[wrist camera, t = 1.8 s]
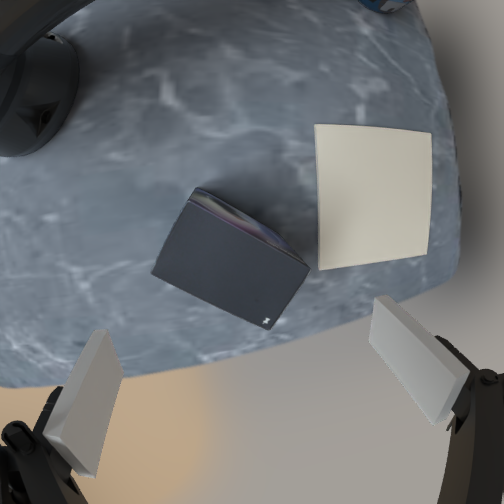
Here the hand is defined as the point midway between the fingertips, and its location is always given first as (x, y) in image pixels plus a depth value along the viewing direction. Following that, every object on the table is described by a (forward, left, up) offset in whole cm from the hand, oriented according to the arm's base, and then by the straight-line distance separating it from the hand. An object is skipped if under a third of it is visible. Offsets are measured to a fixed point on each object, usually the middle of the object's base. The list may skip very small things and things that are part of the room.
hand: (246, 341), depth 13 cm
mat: (-3, +18, -18) cm, 26 cm away
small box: (0, 0, -19) cm, 19 cm away
